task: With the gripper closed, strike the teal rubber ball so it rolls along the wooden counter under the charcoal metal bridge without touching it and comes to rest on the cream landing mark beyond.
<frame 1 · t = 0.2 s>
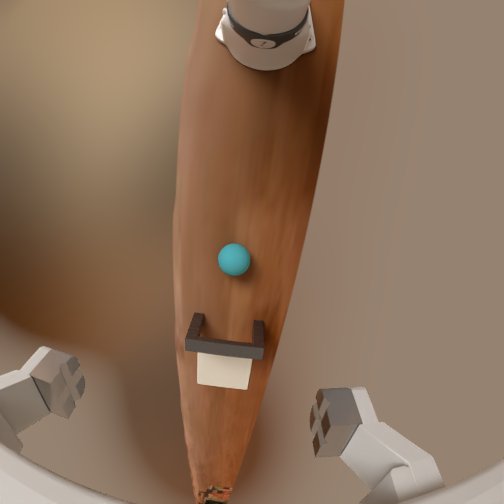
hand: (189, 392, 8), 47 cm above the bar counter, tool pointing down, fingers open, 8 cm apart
bridge: (228, 322, 62), on the bar counter
landing mark: (223, 368, 66), on the bar counter
ball: (234, 259, 54), on the bar counter
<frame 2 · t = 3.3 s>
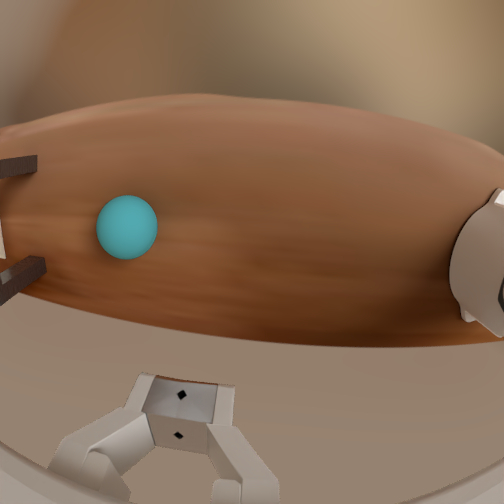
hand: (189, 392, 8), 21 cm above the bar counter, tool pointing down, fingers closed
bridge: (31, 215, 28), on the bar counter
ball: (126, 227, 25), on the bar counter
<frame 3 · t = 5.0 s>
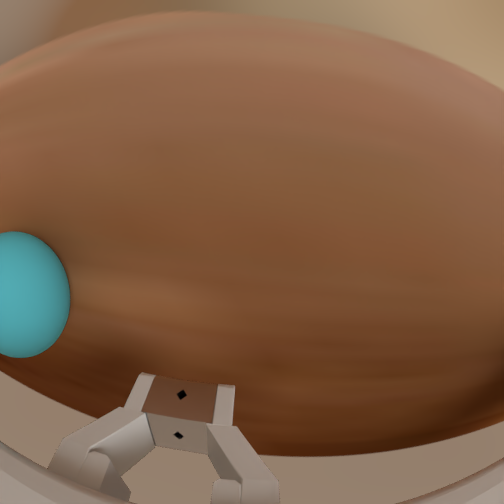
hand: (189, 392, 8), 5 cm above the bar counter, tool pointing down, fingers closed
ball: (15, 294, 10), on the bar counter
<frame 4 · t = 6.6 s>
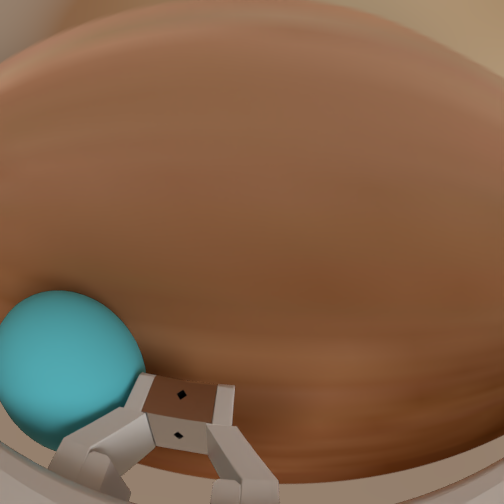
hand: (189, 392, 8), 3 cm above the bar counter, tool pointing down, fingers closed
ball: (67, 374, 8), on the bar counter
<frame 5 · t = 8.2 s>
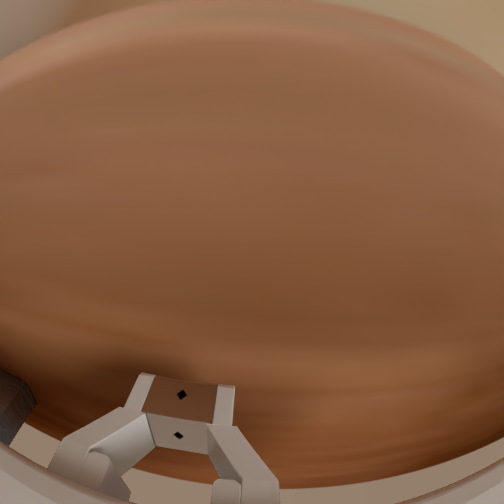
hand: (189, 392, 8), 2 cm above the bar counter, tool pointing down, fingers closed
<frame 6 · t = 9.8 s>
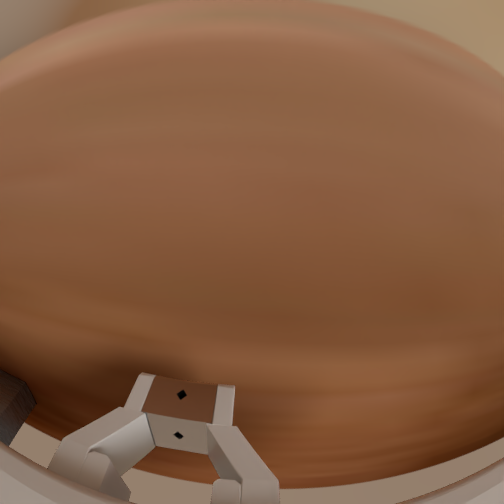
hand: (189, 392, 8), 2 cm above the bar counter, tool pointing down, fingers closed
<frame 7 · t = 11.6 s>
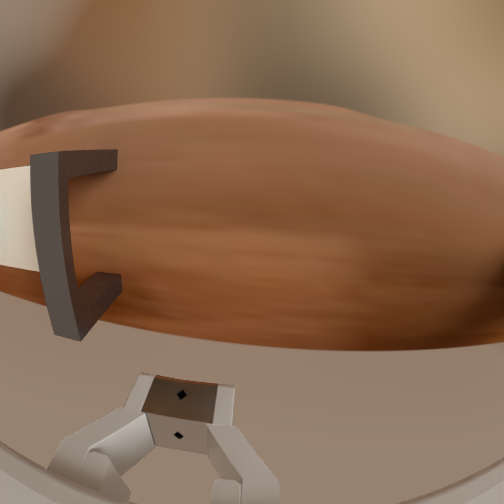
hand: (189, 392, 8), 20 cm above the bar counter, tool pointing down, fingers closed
bridge: (104, 223, 27), on the bar counter
landing mark: (17, 219, 26), on the bar counter
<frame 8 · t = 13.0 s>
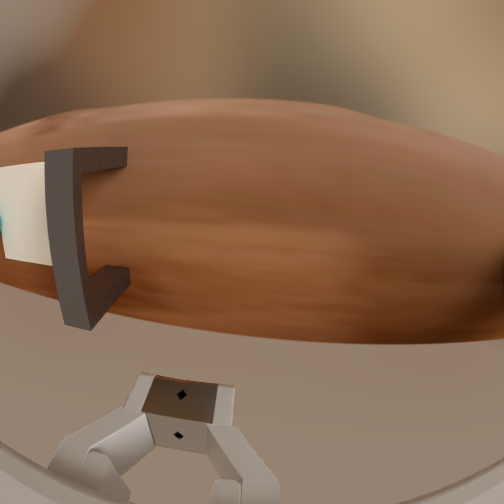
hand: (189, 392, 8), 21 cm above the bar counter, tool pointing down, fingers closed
bridge: (114, 218, 28), on the bar counter
landing mark: (27, 214, 28), on the bar counter
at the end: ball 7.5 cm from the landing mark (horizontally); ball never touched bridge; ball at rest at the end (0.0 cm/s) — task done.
